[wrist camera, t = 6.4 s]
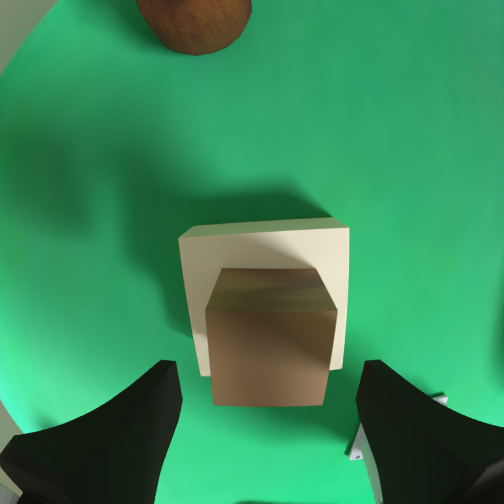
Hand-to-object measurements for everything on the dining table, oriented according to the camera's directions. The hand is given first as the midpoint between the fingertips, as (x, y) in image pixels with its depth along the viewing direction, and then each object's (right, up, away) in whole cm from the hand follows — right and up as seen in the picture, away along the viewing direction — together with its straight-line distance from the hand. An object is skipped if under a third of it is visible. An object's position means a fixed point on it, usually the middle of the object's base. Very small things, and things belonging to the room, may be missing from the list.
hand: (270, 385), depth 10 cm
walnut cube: (0, +2, +6) cm, 6 cm away
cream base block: (0, +3, +10) cm, 10 cm away
